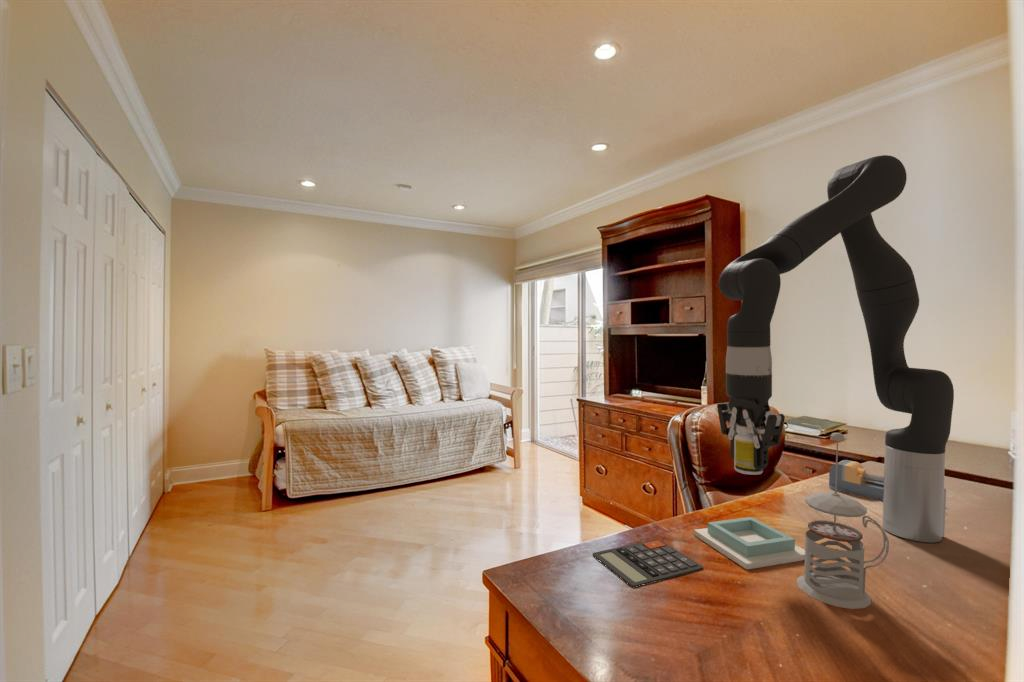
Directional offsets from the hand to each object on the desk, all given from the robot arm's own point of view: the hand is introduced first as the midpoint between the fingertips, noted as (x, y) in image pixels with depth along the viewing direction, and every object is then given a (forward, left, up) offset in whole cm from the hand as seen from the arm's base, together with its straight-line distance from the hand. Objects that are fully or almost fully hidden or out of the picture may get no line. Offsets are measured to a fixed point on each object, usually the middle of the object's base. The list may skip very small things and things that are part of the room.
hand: (748, 463), depth 87 cm
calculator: (+20, -2, -17) cm, 26 cm away
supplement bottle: (0, 0, -2) cm, 2 cm away
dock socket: (-2, -2, -16) cm, 17 cm away
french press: (-4, +15, -17) cm, 23 cm away
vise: (-53, -16, -17) cm, 58 cm away
